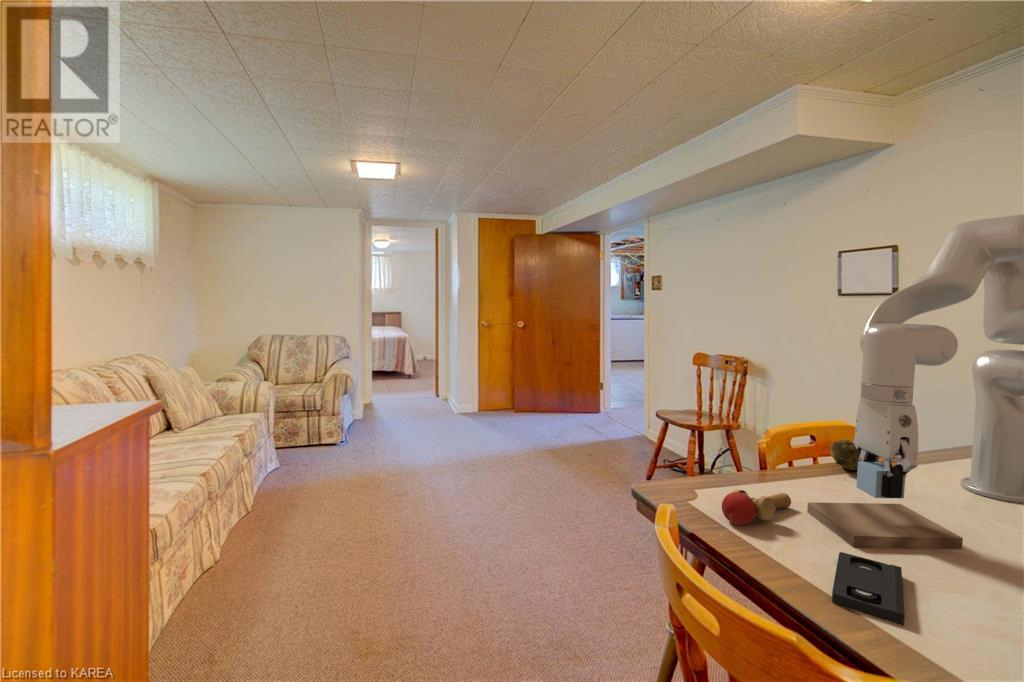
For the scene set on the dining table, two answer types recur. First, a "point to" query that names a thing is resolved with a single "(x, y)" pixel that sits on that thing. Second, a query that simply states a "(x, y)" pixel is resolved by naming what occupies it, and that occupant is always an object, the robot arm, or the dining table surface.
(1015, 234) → the robot arm
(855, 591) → the vhs tape
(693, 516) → the dining table surface
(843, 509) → the board
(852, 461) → the potato
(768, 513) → the kendama
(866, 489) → the cube
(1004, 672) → the dining table surface
